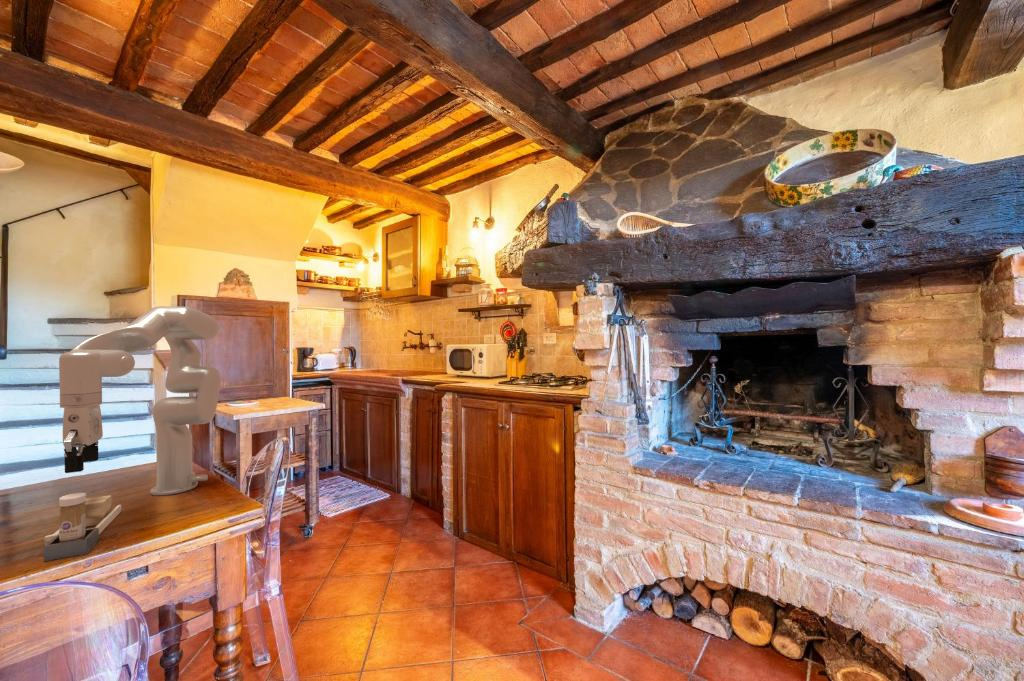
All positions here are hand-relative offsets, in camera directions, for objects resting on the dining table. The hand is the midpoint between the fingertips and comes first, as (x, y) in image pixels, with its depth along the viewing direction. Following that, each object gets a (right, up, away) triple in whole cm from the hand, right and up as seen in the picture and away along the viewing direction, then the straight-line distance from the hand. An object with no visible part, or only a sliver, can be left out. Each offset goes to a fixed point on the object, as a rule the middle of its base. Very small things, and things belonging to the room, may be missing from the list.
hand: (82, 466), depth 106 cm
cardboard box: (-7, -19, +10) cm, 22 cm away
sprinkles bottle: (+4, -19, -6) cm, 20 cm away
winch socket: (+4, -19, -6) cm, 20 cm away
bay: (-5, -19, +6) cm, 21 cm away
